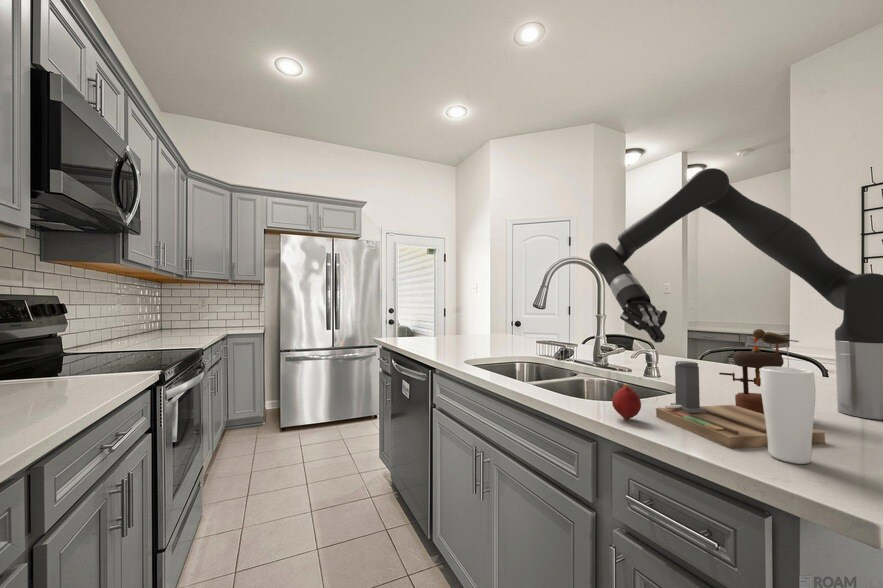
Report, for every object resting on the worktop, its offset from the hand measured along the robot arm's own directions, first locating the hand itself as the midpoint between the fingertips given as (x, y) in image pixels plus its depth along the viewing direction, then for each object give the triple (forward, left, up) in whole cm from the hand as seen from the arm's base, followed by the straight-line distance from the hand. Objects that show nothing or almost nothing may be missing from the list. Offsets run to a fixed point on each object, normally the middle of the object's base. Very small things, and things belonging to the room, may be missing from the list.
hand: (660, 340), depth 92 cm
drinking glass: (0, +29, -17) cm, 34 cm away
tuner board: (-5, +15, -17) cm, 23 cm away
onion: (+13, +6, -17) cm, 23 cm away
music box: (-22, +5, -17) cm, 28 cm away
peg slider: (+1, +8, -15) cm, 17 cm away
